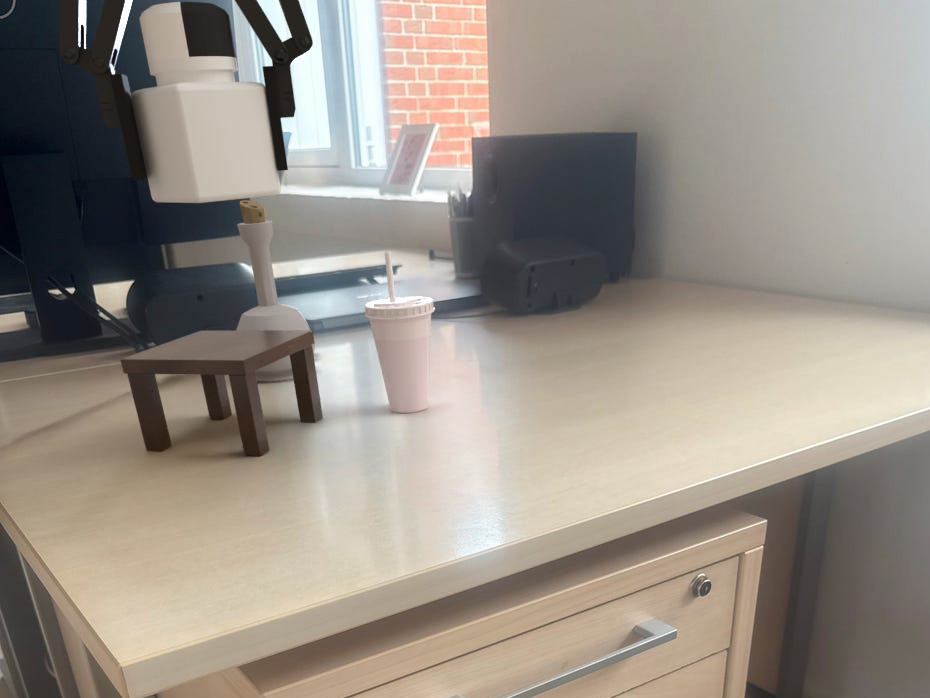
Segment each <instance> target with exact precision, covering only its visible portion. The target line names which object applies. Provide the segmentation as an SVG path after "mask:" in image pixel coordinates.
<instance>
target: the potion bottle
mask: <svg viewBox="0 0 930 698" xmlns="http://www.w3.org/2000/svg"><path fill="white" fill-rule="evenodd" d="M239 207H240V211H241V216H242V219H243V222H240V223H236V226H237V229H238V232H239V237H240V238H241V240H242V241H243V243H245V245H246V246H247V247H248V251H249V257H250V263H251V269H252V274H253V280H254V285H255V292H256V297H257V303H258V305H257V306H254V307H252V308H250V309H248V310H246V311H245V312H243V313H242V314H241V316H240V318H239V321H238V324H237V326H236V329H235V331H241V330H311V328H310V326H309V323H308V321H307V320H306V318H305V317H304V316H303V314H302V312H301V311H300V310H299V309H298V307H297V306H294V305H289V304H283V303H279V299H278V294H277V293H278V292H277V287H276V281H275V275H274V269H273V263H272V257H271V252H270V244H271V242H272V239H273V237H274V230H273V229H274V226H273V220H267V213H266V205H260V204H259V203H258V204H257V201H255V200H249V199H244V200H240V201H239ZM314 342H315V343H314V344H313V345H312V348H313V355H314V356H315V349H316V348H315V347H316V341H315V340H314ZM255 373H256V379H257V382H270V383H271V382H272V383H273V382H275V383H276V382H277V383H279V382H284V381H289V380H294V379H293V373H292V367H291V361H290V355H289V356H287V357H284V358H282V359H280V360H278V361H276V362H274V363H271V364H269V365H267V366H265V367H263V368H260V369H258V370H256V371H255Z"/></svg>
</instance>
